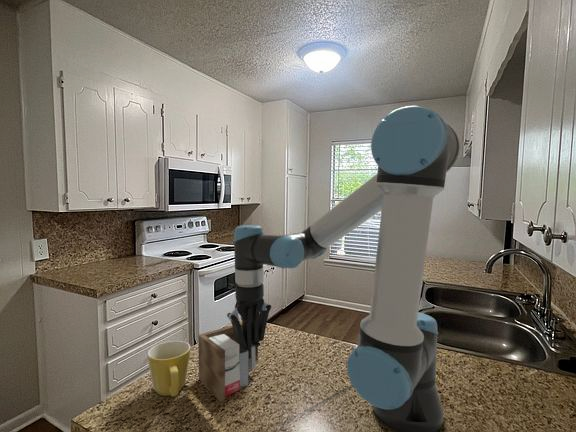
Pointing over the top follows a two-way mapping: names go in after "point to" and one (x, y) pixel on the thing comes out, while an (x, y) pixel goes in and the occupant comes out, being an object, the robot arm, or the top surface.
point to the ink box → (230, 362)
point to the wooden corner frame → (214, 361)
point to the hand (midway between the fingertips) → (251, 368)
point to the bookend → (243, 366)
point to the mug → (169, 366)
